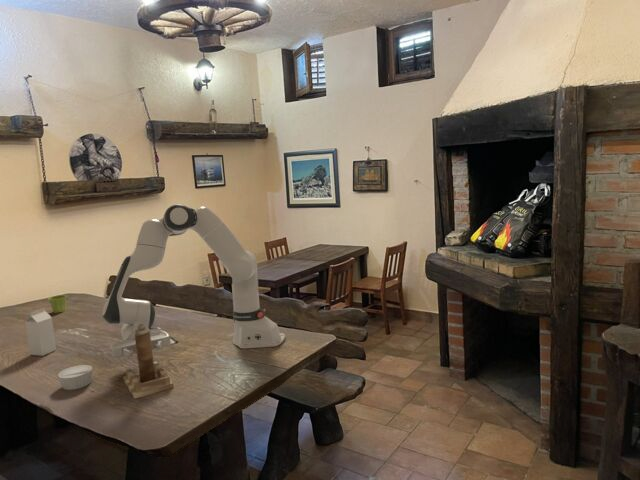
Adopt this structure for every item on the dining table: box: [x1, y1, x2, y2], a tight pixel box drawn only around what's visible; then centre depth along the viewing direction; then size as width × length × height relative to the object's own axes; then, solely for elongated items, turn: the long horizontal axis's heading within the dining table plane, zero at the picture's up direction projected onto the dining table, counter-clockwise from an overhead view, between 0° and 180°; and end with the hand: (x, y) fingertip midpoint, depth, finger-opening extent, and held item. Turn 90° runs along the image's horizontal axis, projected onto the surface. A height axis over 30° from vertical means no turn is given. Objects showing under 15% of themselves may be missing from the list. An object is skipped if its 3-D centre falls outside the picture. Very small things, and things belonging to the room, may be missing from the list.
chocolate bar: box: [169, 335, 179, 346], centre depth 211 cm, size 9×1×18 cm
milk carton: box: [24, 307, 57, 357], centre depth 203 cm, size 7×7×19 cm
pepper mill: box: [135, 324, 155, 383], centre depth 164 cm, size 5×5×20 cm
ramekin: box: [57, 364, 93, 391], centre depth 168 cm, size 11×11×5 cm
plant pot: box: [47, 294, 68, 314], centre depth 271 cm, size 9×9×9 cm
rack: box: [123, 361, 175, 399], centre depth 165 cm, size 18×13×4 cm
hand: (144, 350), depth 163 cm, fingers open, 8 cm apart
